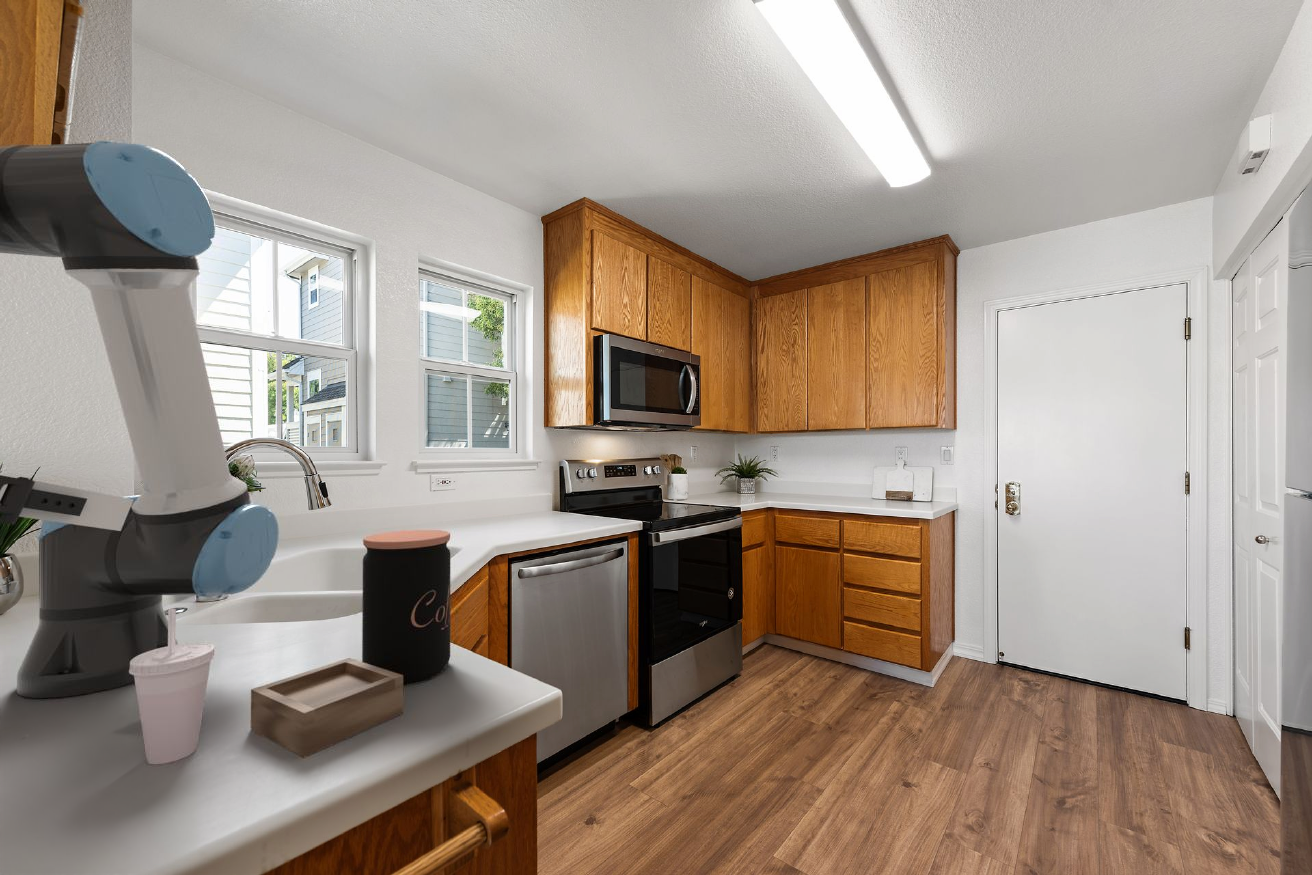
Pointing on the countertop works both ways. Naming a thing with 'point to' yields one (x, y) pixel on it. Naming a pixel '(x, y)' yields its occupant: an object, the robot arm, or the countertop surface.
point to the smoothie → (171, 695)
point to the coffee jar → (407, 603)
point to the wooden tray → (325, 705)
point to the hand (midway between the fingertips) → (82, 508)
